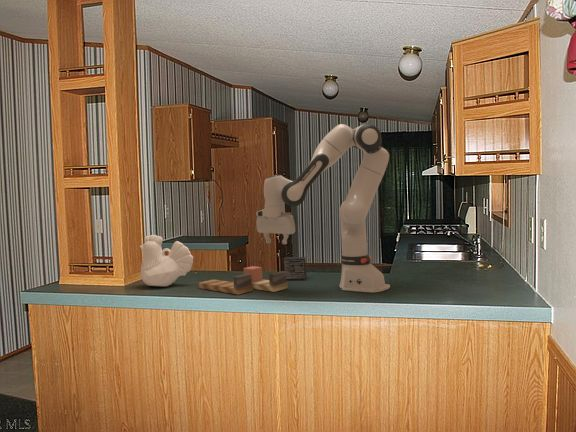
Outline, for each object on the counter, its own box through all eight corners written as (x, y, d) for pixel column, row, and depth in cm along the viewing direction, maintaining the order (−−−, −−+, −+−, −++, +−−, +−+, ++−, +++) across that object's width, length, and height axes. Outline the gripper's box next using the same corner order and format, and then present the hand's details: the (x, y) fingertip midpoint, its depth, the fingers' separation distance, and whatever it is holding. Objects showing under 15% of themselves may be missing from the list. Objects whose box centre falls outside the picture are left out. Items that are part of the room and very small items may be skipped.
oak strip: (252, 290, 248) (251, 273, 247) (238, 294, 241) (237, 277, 240) (213, 284, 265) (212, 268, 264) (199, 288, 258) (198, 272, 258)
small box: (306, 277, 274) (306, 256, 273) (305, 280, 268) (305, 258, 267) (285, 277, 275) (284, 256, 274) (284, 280, 269) (283, 259, 268)
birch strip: (287, 288, 250) (286, 271, 250) (274, 291, 243) (273, 274, 243) (246, 282, 267) (246, 266, 267) (233, 285, 260) (232, 269, 260)
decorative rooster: (135, 289, 262) (131, 237, 260) (151, 282, 277) (147, 232, 275) (185, 290, 256) (181, 236, 254) (198, 282, 271) (195, 232, 269)
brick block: (262, 280, 258) (261, 267, 258) (253, 282, 254) (252, 269, 253) (253, 278, 262) (252, 266, 261) (244, 281, 257) (243, 268, 257)
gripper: (297, 211, 240) (299, 243, 242) (263, 211, 254) (264, 241, 255) (287, 213, 236) (289, 245, 237) (253, 212, 249) (255, 243, 250)
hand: (276, 243), depth 246 cm, fingers open, 8 cm apart
